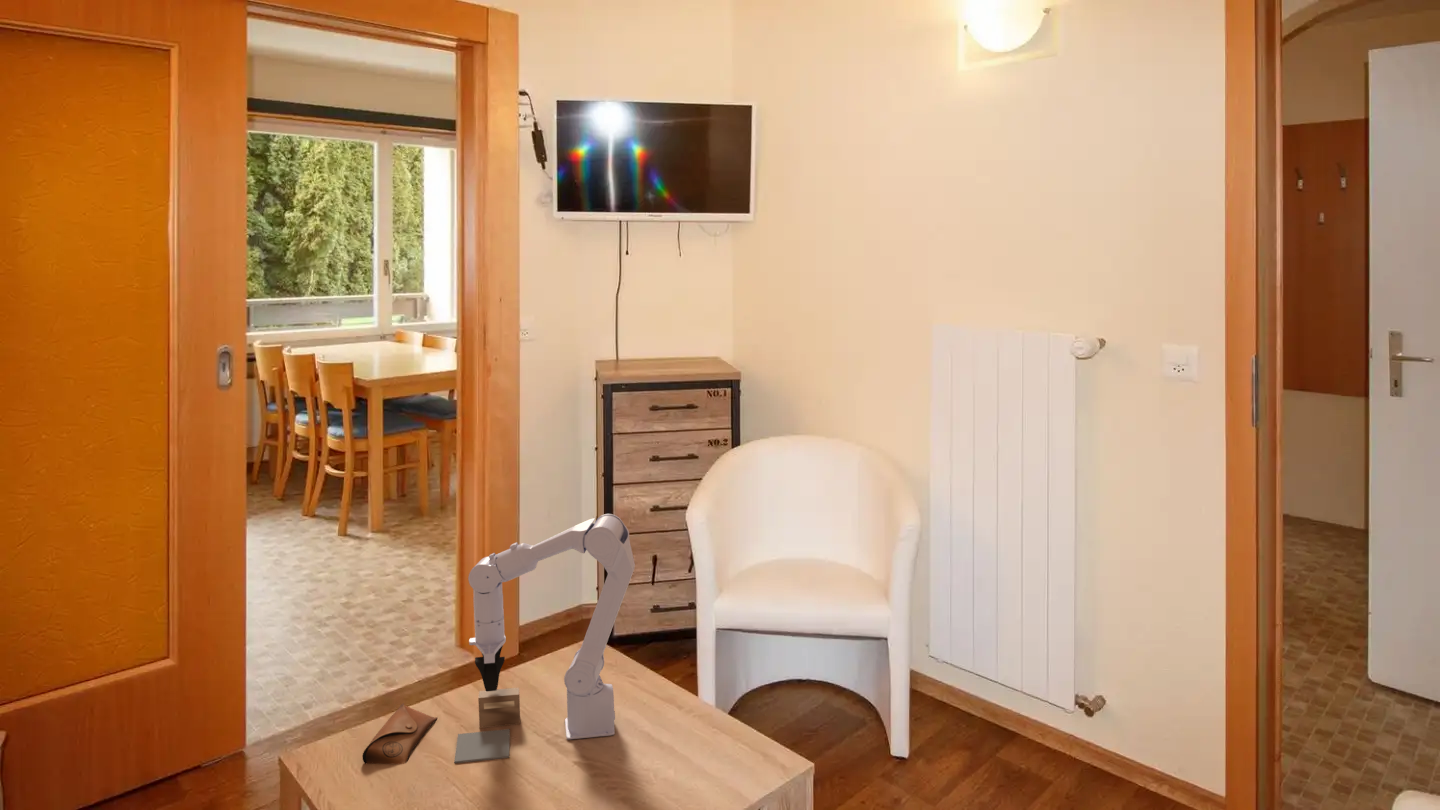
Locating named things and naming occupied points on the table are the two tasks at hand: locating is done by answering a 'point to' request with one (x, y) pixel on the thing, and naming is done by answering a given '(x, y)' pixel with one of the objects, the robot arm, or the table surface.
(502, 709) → the brown rectangular block
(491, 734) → the felt mat
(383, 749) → the sunglasses case
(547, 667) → the table surface
